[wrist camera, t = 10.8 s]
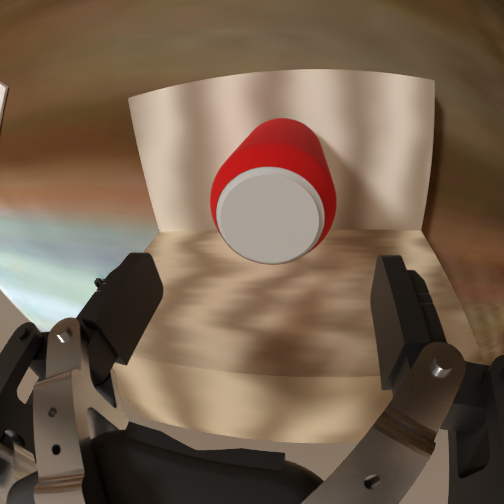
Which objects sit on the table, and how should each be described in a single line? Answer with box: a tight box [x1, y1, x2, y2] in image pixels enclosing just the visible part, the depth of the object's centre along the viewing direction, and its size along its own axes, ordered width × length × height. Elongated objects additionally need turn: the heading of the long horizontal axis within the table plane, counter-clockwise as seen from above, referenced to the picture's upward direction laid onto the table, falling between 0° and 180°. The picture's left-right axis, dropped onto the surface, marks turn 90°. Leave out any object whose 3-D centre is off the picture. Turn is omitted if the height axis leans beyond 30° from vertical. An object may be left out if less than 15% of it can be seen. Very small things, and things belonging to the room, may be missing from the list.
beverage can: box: [210, 118, 337, 265], centre depth 17 cm, size 6×6×12 cm
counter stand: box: [112, 69, 484, 443], centre depth 20 cm, size 26×26×18 cm
